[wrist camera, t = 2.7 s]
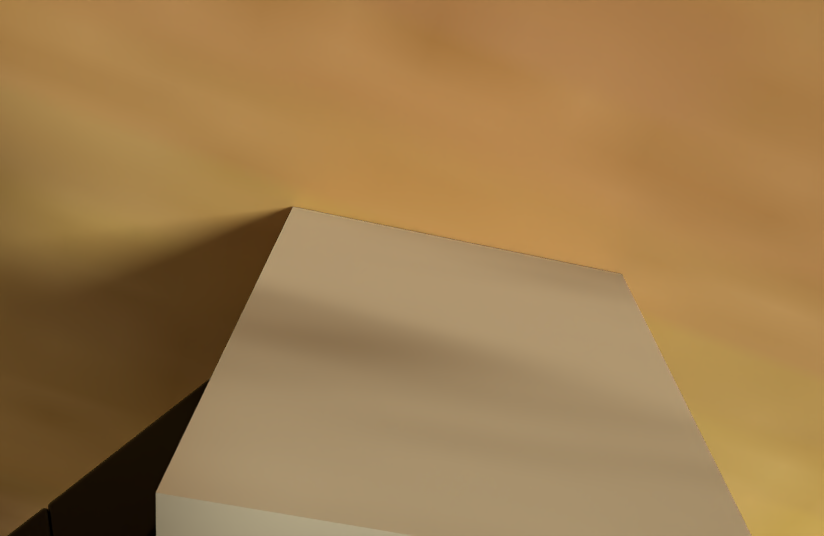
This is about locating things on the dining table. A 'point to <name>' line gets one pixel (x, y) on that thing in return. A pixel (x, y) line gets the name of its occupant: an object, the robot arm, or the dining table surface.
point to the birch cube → (438, 401)
